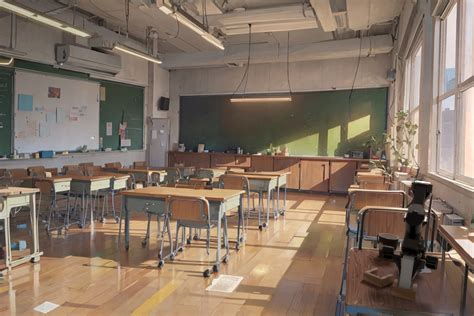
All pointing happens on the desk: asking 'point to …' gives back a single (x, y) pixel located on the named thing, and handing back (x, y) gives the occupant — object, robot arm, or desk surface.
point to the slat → (406, 272)
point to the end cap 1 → (377, 278)
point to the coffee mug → (387, 241)
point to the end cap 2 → (403, 291)
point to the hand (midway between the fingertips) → (405, 278)
